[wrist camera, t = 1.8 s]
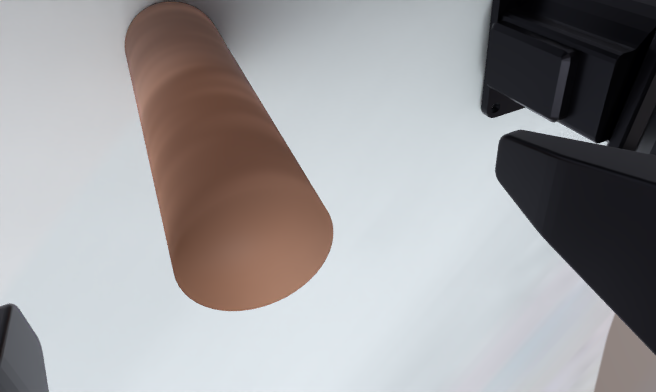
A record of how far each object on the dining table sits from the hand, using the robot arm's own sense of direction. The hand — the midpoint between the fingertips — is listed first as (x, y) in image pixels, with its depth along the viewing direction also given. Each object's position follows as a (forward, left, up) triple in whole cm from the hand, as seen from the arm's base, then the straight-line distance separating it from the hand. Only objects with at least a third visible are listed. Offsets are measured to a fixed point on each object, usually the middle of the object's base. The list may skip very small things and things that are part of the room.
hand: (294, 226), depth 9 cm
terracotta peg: (0, 0, -10) cm, 10 cm away
